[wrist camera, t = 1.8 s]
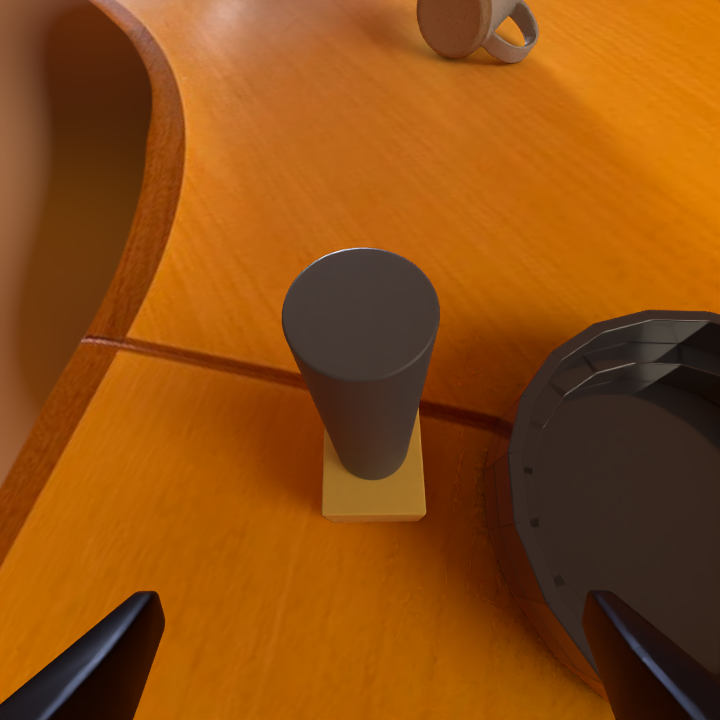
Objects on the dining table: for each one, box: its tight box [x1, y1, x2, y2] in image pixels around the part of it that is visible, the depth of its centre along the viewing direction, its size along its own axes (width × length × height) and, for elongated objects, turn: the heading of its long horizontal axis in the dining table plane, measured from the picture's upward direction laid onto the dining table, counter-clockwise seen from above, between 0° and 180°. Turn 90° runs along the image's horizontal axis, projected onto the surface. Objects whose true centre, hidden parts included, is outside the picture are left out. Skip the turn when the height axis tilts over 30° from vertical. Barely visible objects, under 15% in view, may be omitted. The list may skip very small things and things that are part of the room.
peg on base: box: [282, 248, 440, 523], centre depth 15 cm, size 6×4×15 cm
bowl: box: [484, 310, 720, 703], centre depth 17 cm, size 17×17×5 cm
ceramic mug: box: [417, 0, 539, 63], centre depth 35 cm, size 11×8×8 cm
